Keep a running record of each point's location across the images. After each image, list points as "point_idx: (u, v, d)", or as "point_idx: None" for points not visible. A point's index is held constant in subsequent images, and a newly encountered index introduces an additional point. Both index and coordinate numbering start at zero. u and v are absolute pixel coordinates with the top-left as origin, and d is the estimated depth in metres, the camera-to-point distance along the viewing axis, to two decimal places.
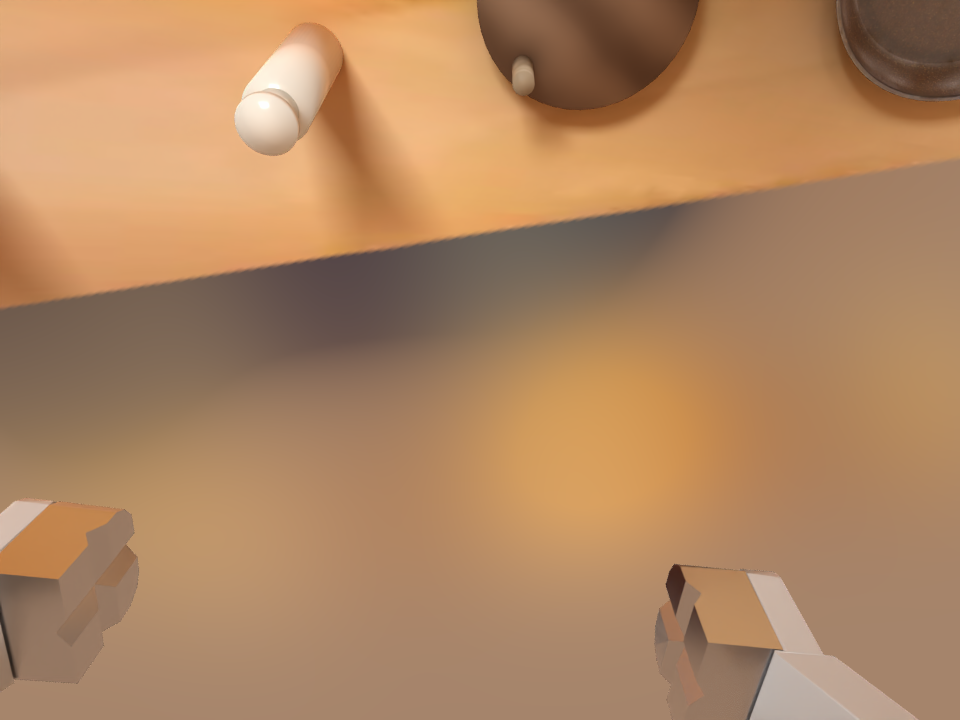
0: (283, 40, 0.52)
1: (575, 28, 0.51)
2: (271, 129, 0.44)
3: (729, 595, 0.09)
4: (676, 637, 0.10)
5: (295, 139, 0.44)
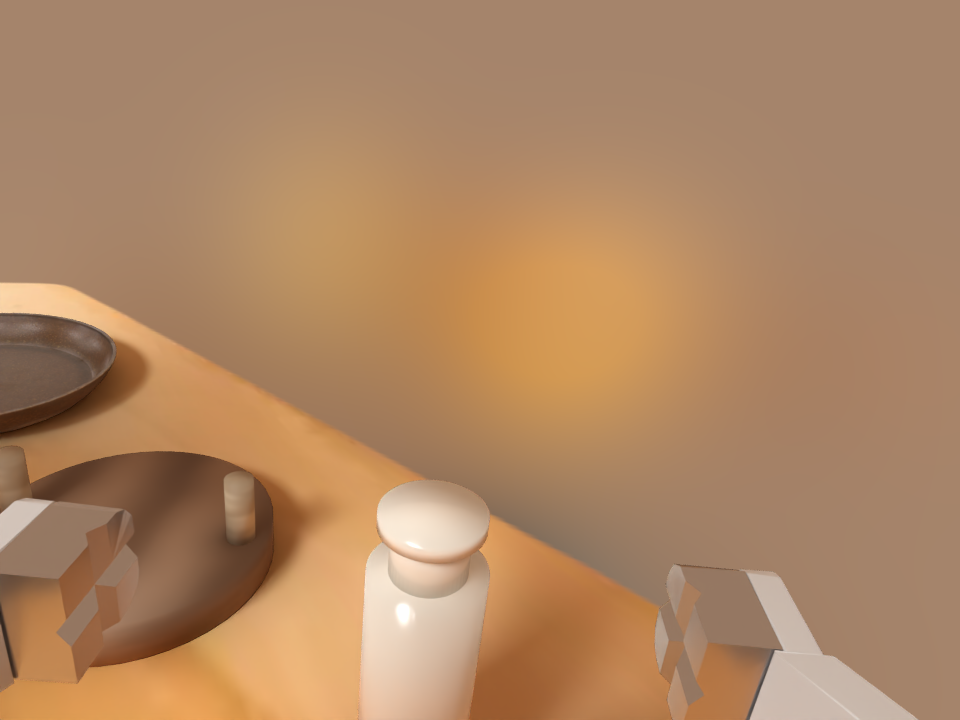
0: None
1: (169, 519, 0.41)
2: (433, 505, 0.25)
3: (729, 595, 0.09)
4: (676, 637, 0.10)
5: (423, 480, 0.26)
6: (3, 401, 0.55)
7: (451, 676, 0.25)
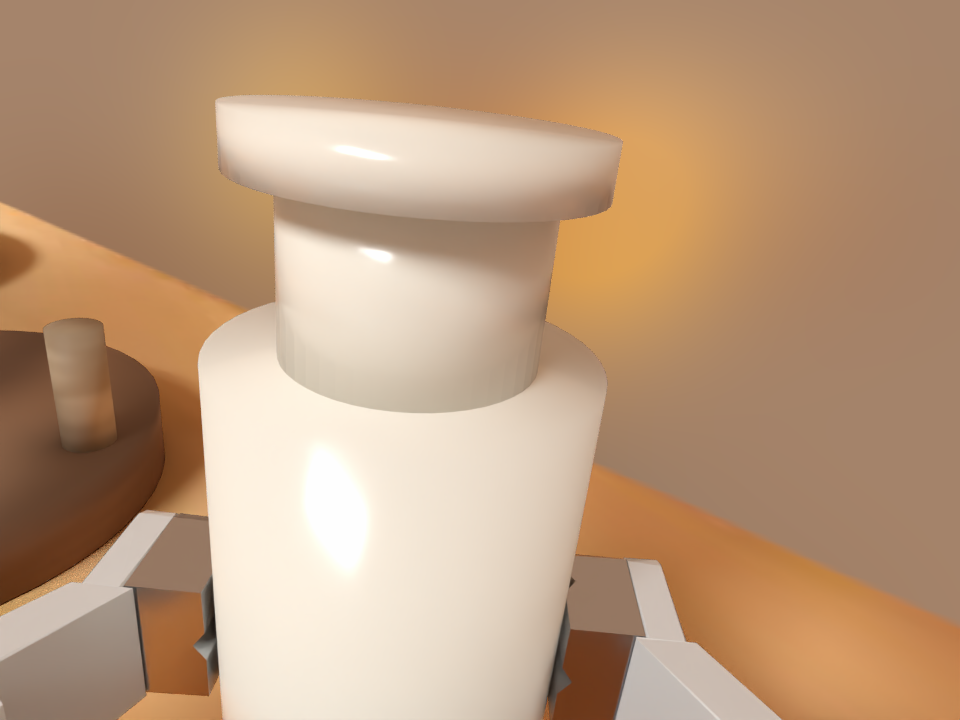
0: None
1: None
2: (425, 114, 0.07)
3: (604, 583, 0.09)
4: None
5: (395, 102, 0.09)
6: None
7: (487, 694, 0.07)
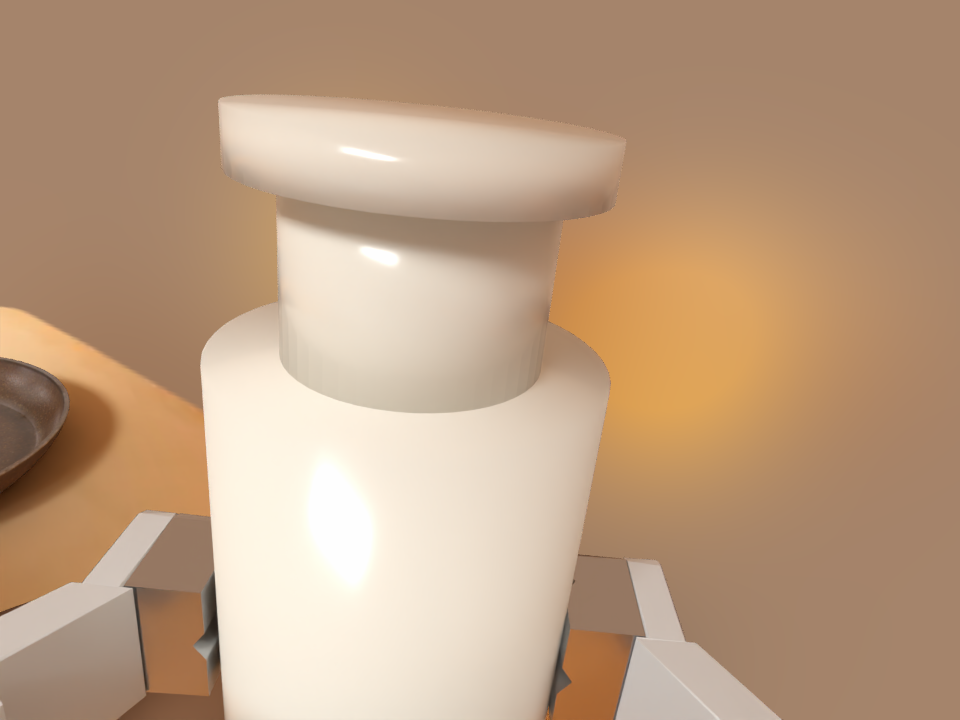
0: None
1: None
2: (428, 114, 0.07)
3: (603, 583, 0.09)
4: None
5: (398, 102, 0.09)
6: None
7: (490, 694, 0.07)
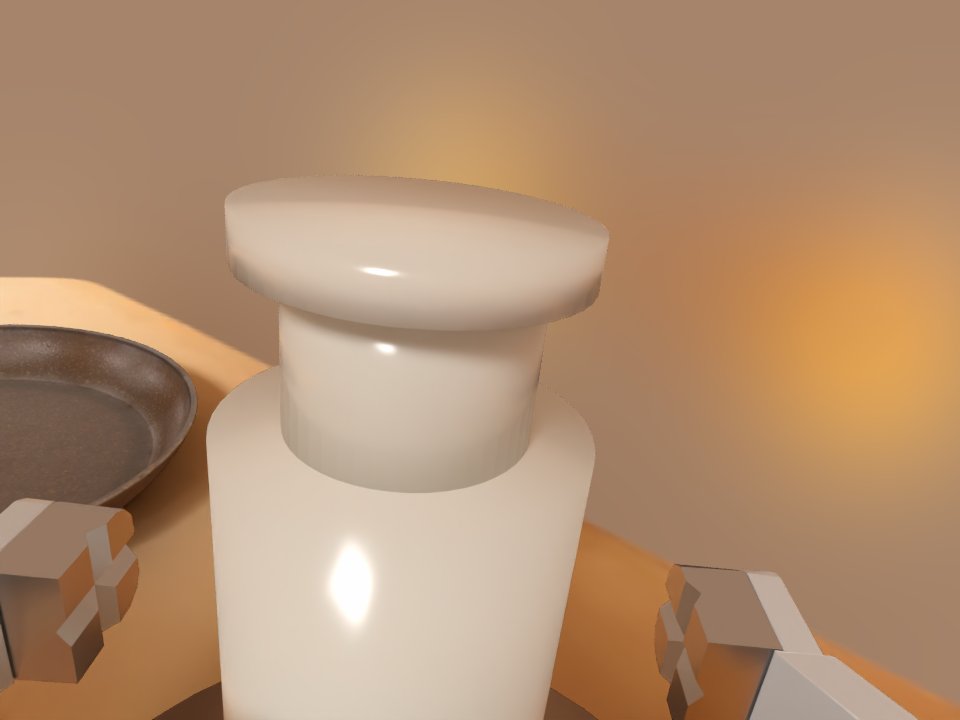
0: None
1: None
2: (422, 202, 0.08)
3: (729, 595, 0.09)
4: (676, 637, 0.10)
5: (394, 177, 0.09)
6: None
7: None
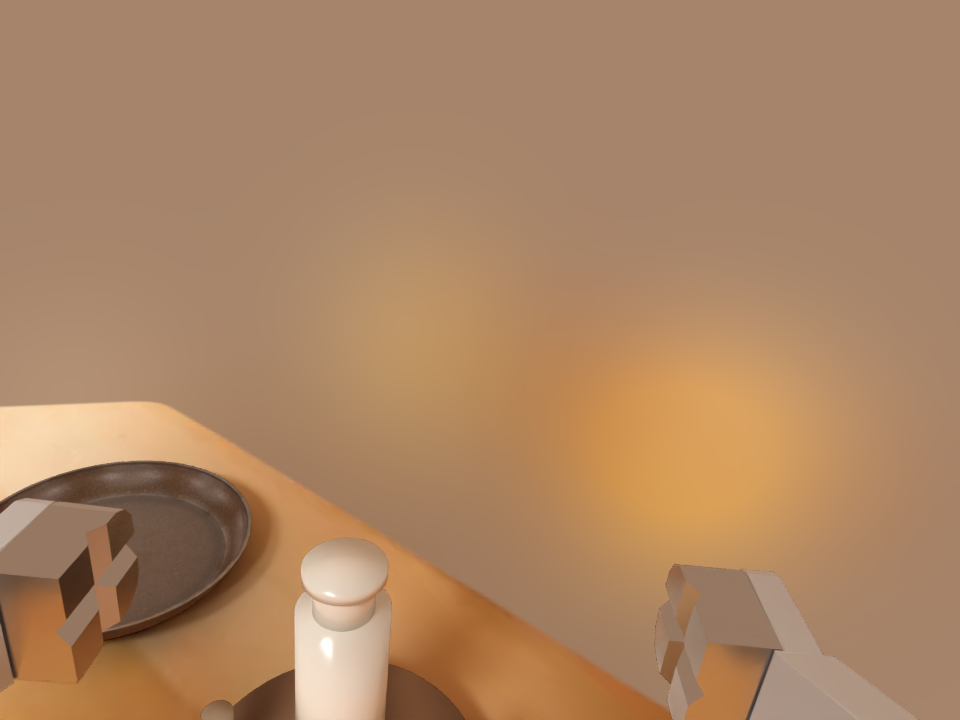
0: None
1: None
2: (345, 559, 0.32)
3: (729, 595, 0.09)
4: (676, 637, 0.10)
5: (341, 538, 0.34)
6: (146, 579, 0.53)
7: (360, 690, 0.32)
